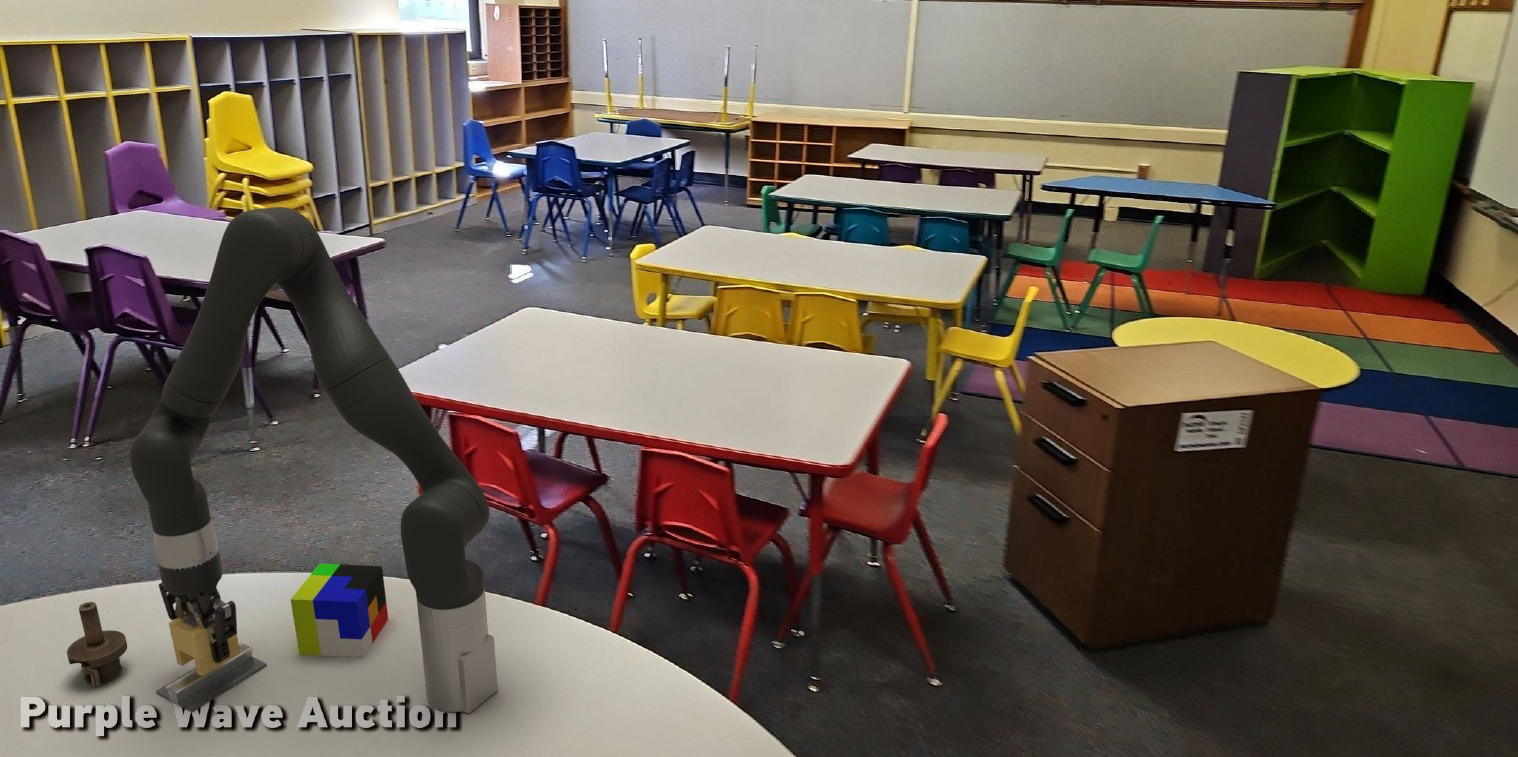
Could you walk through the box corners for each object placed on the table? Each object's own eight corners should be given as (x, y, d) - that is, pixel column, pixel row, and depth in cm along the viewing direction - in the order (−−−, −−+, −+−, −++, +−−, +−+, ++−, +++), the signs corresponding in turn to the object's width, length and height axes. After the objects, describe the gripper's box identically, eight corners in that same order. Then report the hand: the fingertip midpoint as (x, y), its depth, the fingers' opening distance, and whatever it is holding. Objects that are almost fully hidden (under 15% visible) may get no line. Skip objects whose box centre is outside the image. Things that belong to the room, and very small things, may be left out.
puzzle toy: (364, 657, 153) (356, 602, 149) (299, 654, 153) (290, 599, 149) (388, 619, 162) (382, 566, 158) (327, 616, 162) (319, 563, 158)
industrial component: (101, 696, 142) (84, 625, 138) (60, 687, 144) (41, 616, 140) (153, 656, 151) (138, 589, 147) (114, 648, 152) (97, 581, 148)
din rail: (266, 665, 150) (264, 653, 149) (191, 712, 140) (189, 699, 139) (231, 649, 153) (229, 637, 152) (156, 693, 143) (153, 680, 143)
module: (240, 653, 147) (232, 611, 144) (202, 676, 142) (193, 633, 139) (215, 641, 149) (207, 600, 146) (177, 663, 144) (168, 621, 141)
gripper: (246, 554, 139) (263, 654, 145) (180, 527, 145) (200, 624, 151) (195, 579, 133) (216, 683, 139) (129, 550, 139) (152, 651, 145)
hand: (207, 652), depth 145 cm, fingers closed on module, 5 cm apart
